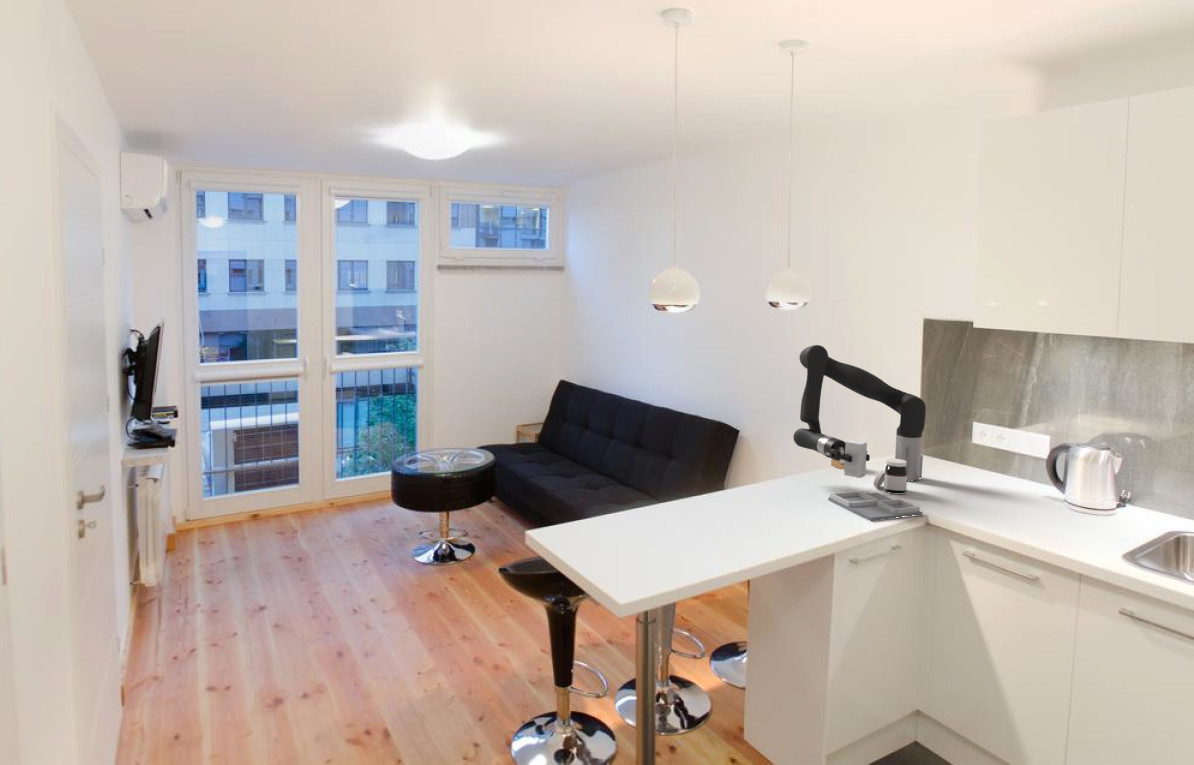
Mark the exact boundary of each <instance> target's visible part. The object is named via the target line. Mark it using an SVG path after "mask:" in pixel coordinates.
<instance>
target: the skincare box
mask: <svg viewBox="0 0 1194 765" xmlns="http://www.w3.org/2000/svg"><path fill="white" fill-rule="evenodd" d="M845 442H846V448H845V454H848V455H850V456H852V462H847V461H845V469H844V470H843V471H844V472H843V473H844V474H843V476H848V477H852V478H857V479H862V478H864V477H866V474H867V471H866V470H867V461H866V454H868V450H867V449H868V442H865V441H859V440H853V439H851V440H848V441H845Z"/></svg>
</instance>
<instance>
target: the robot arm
mask: <svg viewBox="0 0 1194 765" xmlns="http://www.w3.org/2000/svg"><path fill="white" fill-rule="evenodd" d="M799 362H800V364H801V365H802V367H803V368H804V369H806V372H807V374H806V384H805V387H804V389H803V394H802V397H801V402H800V403H801V405H800V412H799V414H800V416H799V419H800V422H802V423H806V424H807V425H808V428H798V429H796V431H795V432H794V433H793V442H794V443H795V444H796V446H798V447H801V448H802V449H807V450H812V451H815V452H816V453H819V454H821V455H823V456H825V457H826V458H828V459H834V460H845V461H847V462H852V456H850V455H848V454H845V448H846V443H845V442H846V441H844V440H842V439H839V438H837V437H834V436H831V435H827V434H823V433H822V429H821V422H820V408H821V396H822V389H823V388H822V387H823V383H824V382H823V381H824V376H825V377H827V378H829V379H830V380H832V381H834V382H836V383H838V384H839V385H841V386H843V387H845V388H847V389H849V390H850V391H852V392H854V393H856V394H858V395H860V396H861V397H862V396H863V397H864V398H867V399H870V400H873V401H876V402H879V403H881V404H884V405H885V406H887V407H889V408H890V409H892V410H893V411H894V412H896V413H897V414H899V415H900V419H899V426H898V427H897V428H896V436H895V453H894V454H895V456H894V459H901V460H905V461H906V462H907V464H906V468H907V480H917V481H919V480H920V479H919V478H923V476H922V475H923V462H924V461H923V460H924V458H923V457H924V455H922V440H923V439H922V438H923V431H924V430H925V424H926V415H927V414H926V411H927V408H926V404H925V401H924V400H923V399H922V398H920V397H919V396H917V395H914V394H912V393H908V392H905V391H903V390H900V389H898V388H895V387H893V386H891V385H889V384H887V383H886V381H883V379H881V378H879V377H878V376H876V375H875V374H873V373H872V372H870V371H867V370H865V369H863V368H860V367H858V366H855V365H851V364H848V363H843V362H841V361H838V360H836V359H833V358H831V356H829V353H828V350H827V349H826V348H825V347H824V346H823V345H819V344H815V345H813V344H812V345H811V346H807V347H805V348H804V349H803V350H802V351H801V352H800V353H799ZM870 457H871V455H870V454H868V453H867V454H866V462H869V461H870V459H871V458H870ZM918 479H919V480H918Z"/></svg>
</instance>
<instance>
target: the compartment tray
mask: <svg viewBox="0 0 1194 765" xmlns="http://www.w3.org/2000/svg"><path fill="white" fill-rule="evenodd" d="M827 500H828V501H830V502H831V503H834V504H835V505H837V506H839V507H840V508H843V509H846V510H847V511H849V512H851V513H853V514H855V515H857V516H859V517H861V518H862V519H865V518H866V519H865V520H867V519H868V520H867V521H869V520H870V521H869V522H876V521H875V520H878V521H882V520H881V519H887V520H890V519H889V518H896V517H902V516H912V515H922V516H923V512H922V511H920V507H921V506H919V505H917V504H914V503H913V502H909V501H907V500H905V499H903V498H891V497H888V496H886V495H884V494H881V493H879V492H875V491H874V492H867V493H865V492H863V491H861V490H851V491H850V490H849V491H840V492H832V493H829V496H828V499H827Z"/></svg>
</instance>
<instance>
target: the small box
mask: <svg viewBox="0 0 1194 765" xmlns="http://www.w3.org/2000/svg"><path fill="white" fill-rule="evenodd" d="M844 442H845V443H846V442H847V441H844ZM830 459H831V458H830ZM830 466H831V467H834V468H837V469H840V470H842V469H845V460H834V459H831V463H830Z"/></svg>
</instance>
